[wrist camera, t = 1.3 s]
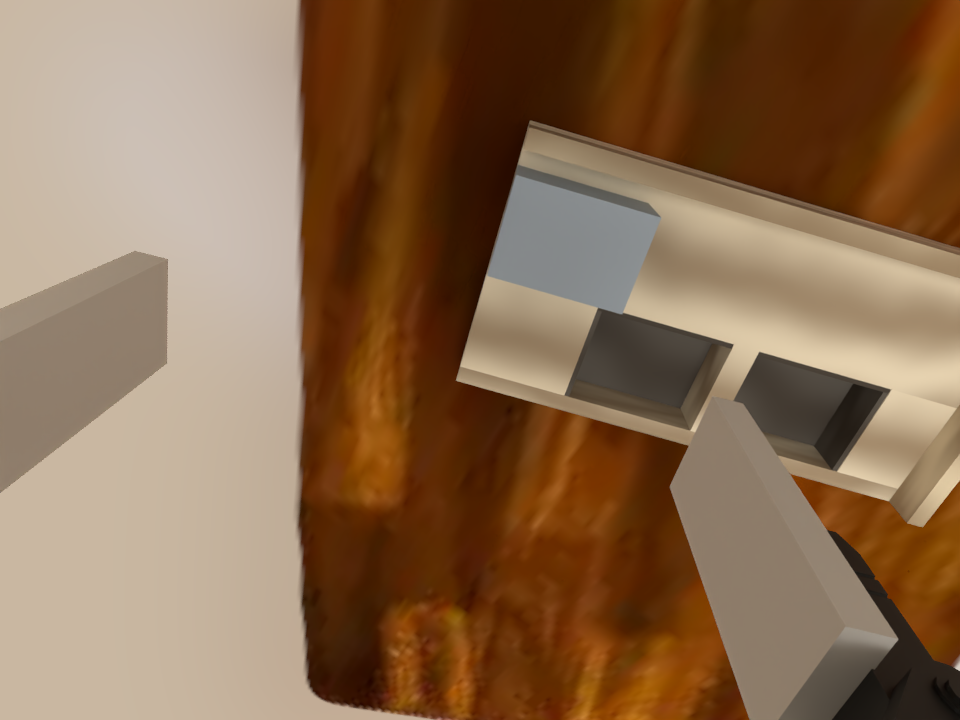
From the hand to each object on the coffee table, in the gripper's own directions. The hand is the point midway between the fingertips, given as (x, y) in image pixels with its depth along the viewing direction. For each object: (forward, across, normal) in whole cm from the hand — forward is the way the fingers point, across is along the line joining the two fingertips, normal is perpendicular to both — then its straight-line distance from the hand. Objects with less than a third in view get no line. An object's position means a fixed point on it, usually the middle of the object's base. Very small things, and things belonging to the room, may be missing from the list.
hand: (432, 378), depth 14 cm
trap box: (+22, +15, -3) cm, 27 cm away
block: (+19, +4, 0) cm, 20 cm away
